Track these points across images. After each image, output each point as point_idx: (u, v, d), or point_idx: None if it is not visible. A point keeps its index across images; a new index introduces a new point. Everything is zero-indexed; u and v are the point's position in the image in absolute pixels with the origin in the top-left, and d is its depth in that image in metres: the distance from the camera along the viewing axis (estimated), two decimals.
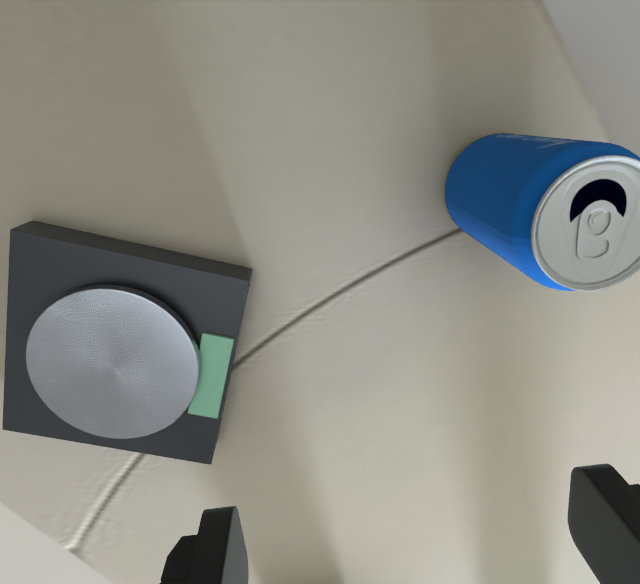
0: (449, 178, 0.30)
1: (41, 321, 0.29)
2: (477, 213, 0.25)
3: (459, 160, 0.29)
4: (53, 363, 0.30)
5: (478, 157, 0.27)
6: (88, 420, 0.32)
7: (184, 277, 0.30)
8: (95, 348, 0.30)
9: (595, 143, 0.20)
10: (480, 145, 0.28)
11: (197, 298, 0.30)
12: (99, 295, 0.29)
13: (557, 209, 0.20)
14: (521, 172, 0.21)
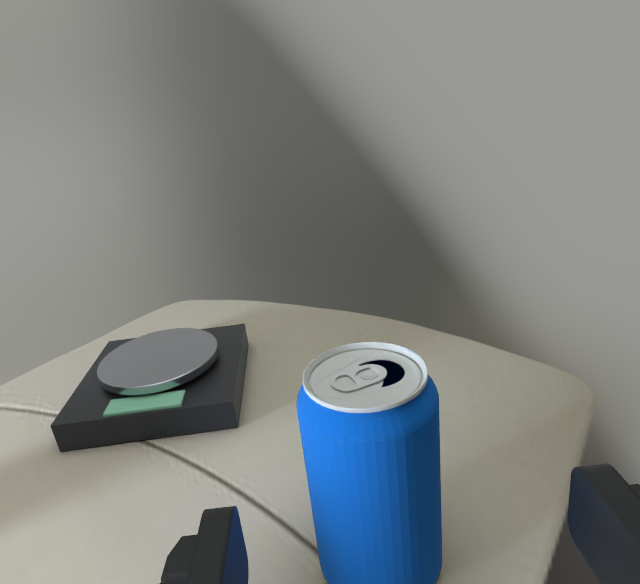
0: None
1: (191, 329, 0.48)
2: None
3: None
4: (162, 337, 0.47)
5: None
6: (116, 354, 0.45)
7: (228, 375, 0.42)
8: (173, 346, 0.45)
9: None
10: None
11: (213, 384, 0.41)
12: (212, 341, 0.45)
13: (362, 354, 0.24)
14: None
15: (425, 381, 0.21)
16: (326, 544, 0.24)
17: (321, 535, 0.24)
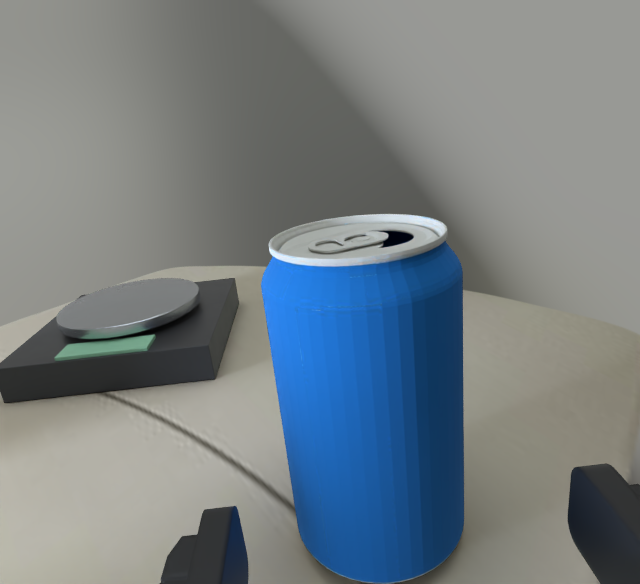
0: None
1: (172, 279, 0.42)
2: None
3: None
4: (138, 285, 0.41)
5: None
6: (83, 301, 0.39)
7: (208, 322, 0.35)
8: (149, 293, 0.39)
9: None
10: None
11: (189, 329, 0.34)
12: (193, 288, 0.39)
13: (357, 227, 0.18)
14: None
15: (443, 235, 0.14)
16: (301, 486, 0.17)
17: (295, 474, 0.17)
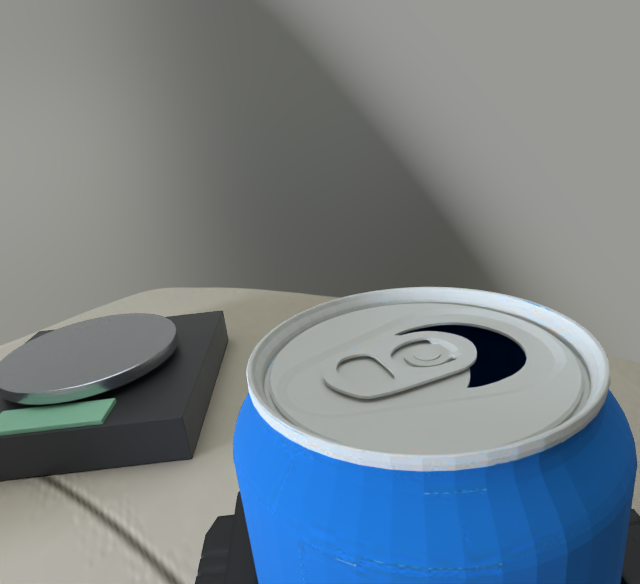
0: None
1: (146, 315, 0.34)
2: None
3: None
4: (103, 324, 0.34)
5: None
6: (32, 345, 0.31)
7: (185, 378, 0.28)
8: (114, 336, 0.31)
9: None
10: None
11: (160, 390, 0.27)
12: (169, 329, 0.32)
13: (405, 313, 0.10)
14: None
15: (608, 371, 0.07)
16: None
17: None
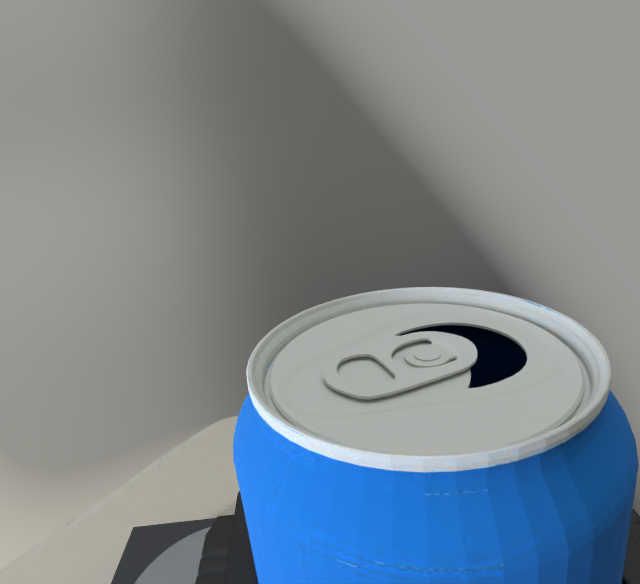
0: None
1: None
2: None
3: None
4: None
5: None
6: None
7: None
8: None
9: None
10: None
11: None
12: None
13: (406, 313, 0.10)
14: None
15: (609, 372, 0.07)
16: None
17: None
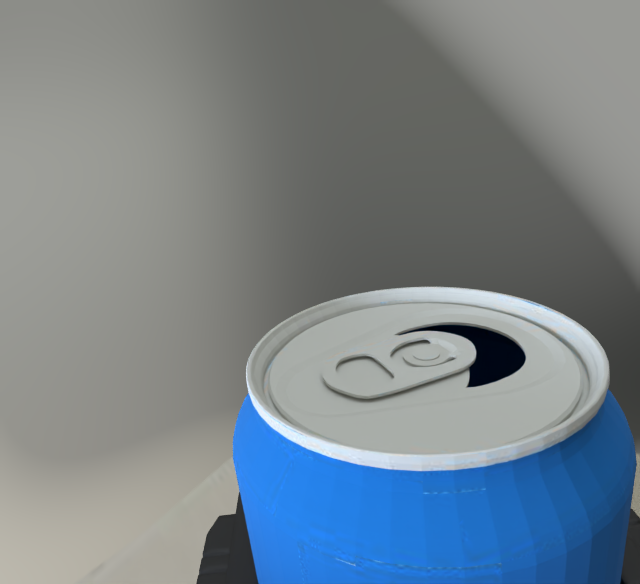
0: None
1: None
2: None
3: None
4: None
5: None
6: None
7: None
8: None
9: None
10: None
11: None
12: None
13: (404, 313, 0.10)
14: None
15: (607, 371, 0.07)
16: None
17: None
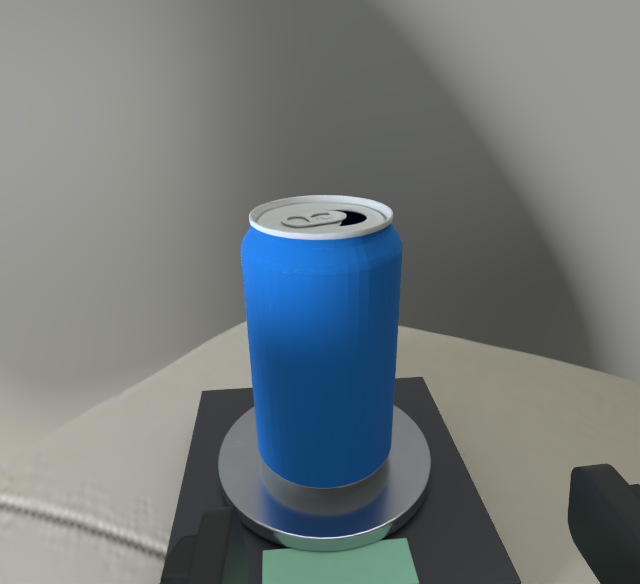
0: None
1: None
2: None
3: None
4: None
5: None
6: (242, 437, 0.25)
7: (468, 503, 0.23)
8: None
9: None
10: None
11: (450, 523, 0.22)
12: (409, 424, 0.26)
13: (322, 205, 0.21)
14: None
15: (388, 220, 0.18)
16: (263, 412, 0.21)
17: (259, 402, 0.21)
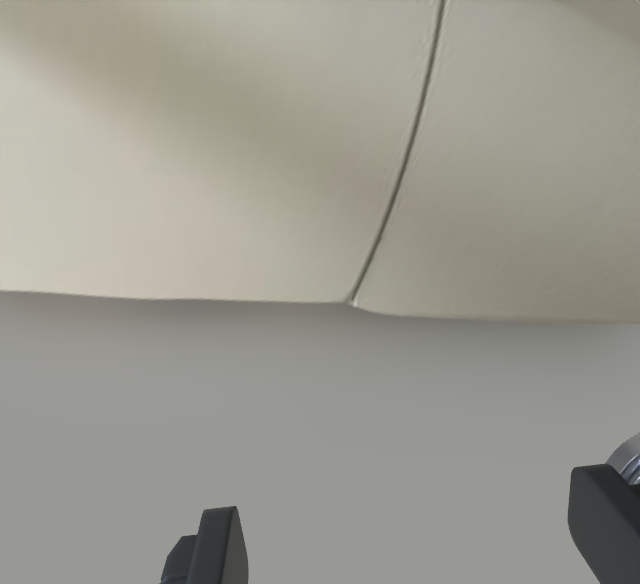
0: None
1: None
2: None
3: None
4: None
5: None
6: None
7: None
8: None
9: None
10: None
11: None
12: None
13: None
14: None
15: None
16: None
17: None
